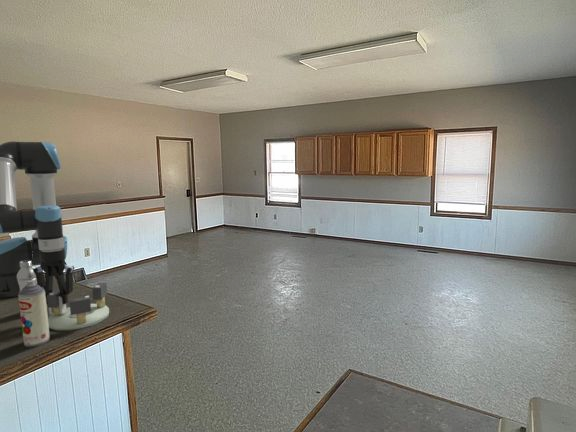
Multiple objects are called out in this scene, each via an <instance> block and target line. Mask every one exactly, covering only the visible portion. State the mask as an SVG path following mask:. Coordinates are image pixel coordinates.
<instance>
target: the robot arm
mask: <svg viewBox="0 0 576 432" xmlns="http://www.w3.org/2000/svg"><path fill="white" fill-rule="evenodd" d="M61 167H62V166H61V162H60V158H59V154H58V150H57V147H56V145H55V143H52V142H43V141H35V142H34V141H7V142H3V143H1V144H0V234H1V235H2V234H6V233H7V234H9V233H17V232H28V231H29V232H30V231H31V232H32V231H35V232H34V233H33V234H32V235H31V239H27V238H26V236H25V237H24V236H21V237H19V236H18V237H13V238H8V239H7V238H6V239H3V240H0V299H5V298H15V297H18V295H19V292H20V288H19V284H18V280H17V274H18V272H19V270H20V269H21V267H20V262H21V261H24V260H31V261H32V267H33V268H34V269H33V271H34V273H35V275H36V279H37V285H39V286H40V287H43V288H44V290H45V296H46V305H47V306H48V302H47V295H48V294H50V293H52V292H53V286H54V279H56V282H57V286H58V289H59V291H60V294H61V295H60V296H59V306H60V314H63V313H65V312H66V311H67V309H66V308H67V304H68V302H69V297H68V295H70V294H71V293H73V291H74V288H73V286H74V283H73V282H74V276H73V275H74V274H73V273H74V270H75V266H74V265H72V266H70V265H68V264H67V262H66V258H67V255H68V254H67V253H68V239H67V236H64V234H63V232H64V231H63V220H62V217H63V216H62V215H63V214H62V210H61V207H60V206H59V205H57V201H56V189H55V181H54V180H55V179H54V178H55V176H57V175H58V171H59V170H61ZM17 170H18V171H19V170H23V171H24V174H25V175H26V177H28V178H29V181H30V182H29V183H30V192H31V202H32V209H23V210H18V206H17V193H16V181H15V173H16V172H17ZM64 271H65V272H64ZM48 311H49V315H52V314H53V313H54V311H53V307H51V308H48Z"/></svg>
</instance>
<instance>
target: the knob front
mask: <svg viewBox="0 0 576 432" xmlns="http://www.w3.org/2000/svg"><path fill="white" fill-rule="evenodd" d="M68 302H69V307H70V312H71V315H74V314H76V316H77V324H84V323H86V312H90V311H91V305H90V304H91V297H90V295H86V296H85V295H84V296H83V297H75V298H70V299H68Z"/></svg>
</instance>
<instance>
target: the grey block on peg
mask: <svg viewBox="0 0 576 432" xmlns="http://www.w3.org/2000/svg"><path fill="white" fill-rule="evenodd" d="M107 286H108V285H107V282H98V283H96V284H95V285H94V286H93V287H92V288H91V290H92V292H91V293H92V300H93V301H96V304H97V308H102V307H105V305H106V300H105V299H106V298H105V297H106V296H107V295H108V287H107Z"/></svg>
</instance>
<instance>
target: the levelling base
mask: <svg viewBox="0 0 576 432" xmlns="http://www.w3.org/2000/svg"><path fill="white" fill-rule="evenodd" d="M90 305H91V311H90V312H86V323H84V324H77V316H76V314H74V315H71V312H70V306H68V307H66V309H67V311H66V312H65V313H63V314H62V315H60V316H54V313H53V314H49V316H48V324H49V329H51V330H53V331H73V330H80V329H85V328H89V327H91V326H94V325H98V324H99V323H101V322H102V321H104V320H106V319H107V318H108V317H109V315H110V308H109V306H107V305H106V304H105V307H102V308H97V303H90Z"/></svg>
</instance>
